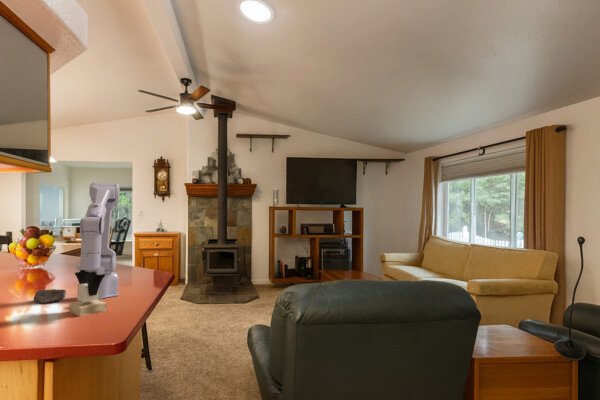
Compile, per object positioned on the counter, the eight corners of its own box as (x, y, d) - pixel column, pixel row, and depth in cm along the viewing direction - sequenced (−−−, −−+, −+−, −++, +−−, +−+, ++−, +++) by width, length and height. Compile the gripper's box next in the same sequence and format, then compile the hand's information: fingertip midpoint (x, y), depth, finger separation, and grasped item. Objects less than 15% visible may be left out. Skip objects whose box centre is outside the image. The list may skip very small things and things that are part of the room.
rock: (67, 297, 133) (67, 286, 133) (56, 304, 123) (57, 292, 123) (40, 298, 130) (40, 287, 131) (27, 305, 120) (27, 293, 120)
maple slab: (94, 308, 120) (95, 298, 120) (106, 312, 115) (107, 302, 115) (69, 313, 113) (69, 303, 113) (80, 317, 109) (80, 307, 109)
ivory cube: (91, 297, 117) (92, 282, 118) (98, 299, 115) (98, 284, 115) (77, 299, 114) (77, 284, 114) (83, 302, 111) (83, 286, 111)
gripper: (67, 251, 116) (65, 293, 115) (88, 255, 108) (86, 299, 107) (89, 250, 122) (87, 289, 121) (111, 253, 114) (109, 295, 113)
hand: (88, 294), depth 115 cm, fingers closed on ivory cube, 4 cm apart
